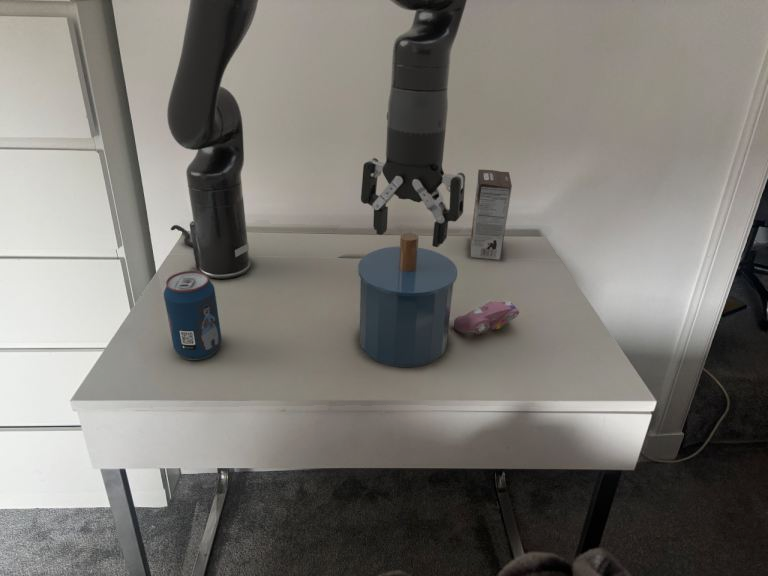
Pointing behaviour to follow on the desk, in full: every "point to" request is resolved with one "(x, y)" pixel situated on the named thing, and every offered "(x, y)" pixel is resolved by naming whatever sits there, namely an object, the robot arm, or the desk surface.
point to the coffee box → (490, 214)
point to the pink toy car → (486, 317)
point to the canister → (404, 326)
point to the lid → (407, 269)
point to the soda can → (192, 315)
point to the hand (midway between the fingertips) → (408, 238)
